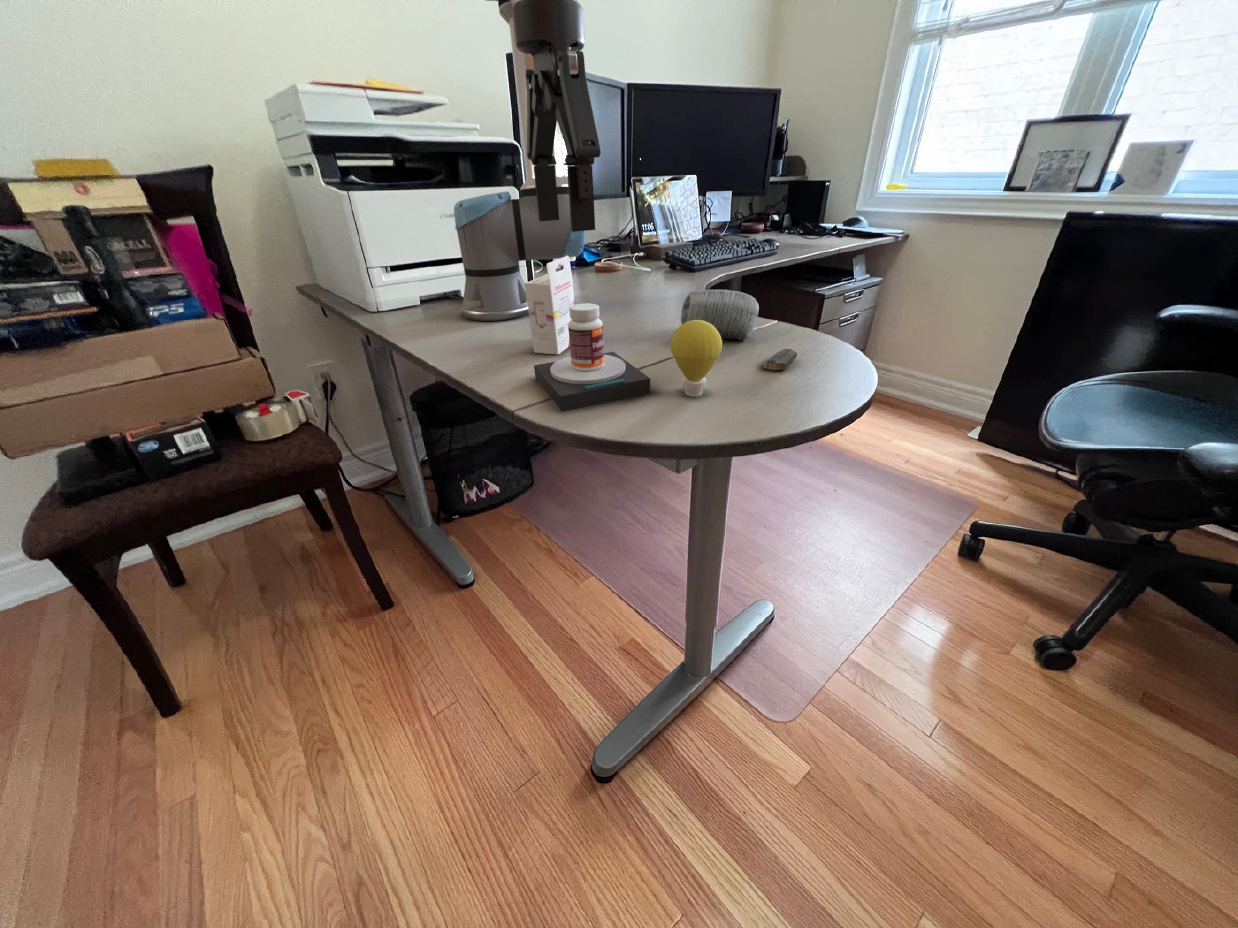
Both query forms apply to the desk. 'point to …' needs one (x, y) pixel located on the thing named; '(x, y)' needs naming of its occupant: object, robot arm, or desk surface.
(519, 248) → the robot arm
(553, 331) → the ink cartridge box
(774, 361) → the block
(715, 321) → the spool
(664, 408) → the desk surface
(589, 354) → the pill bottle
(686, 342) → the light bulb
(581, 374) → the scale
